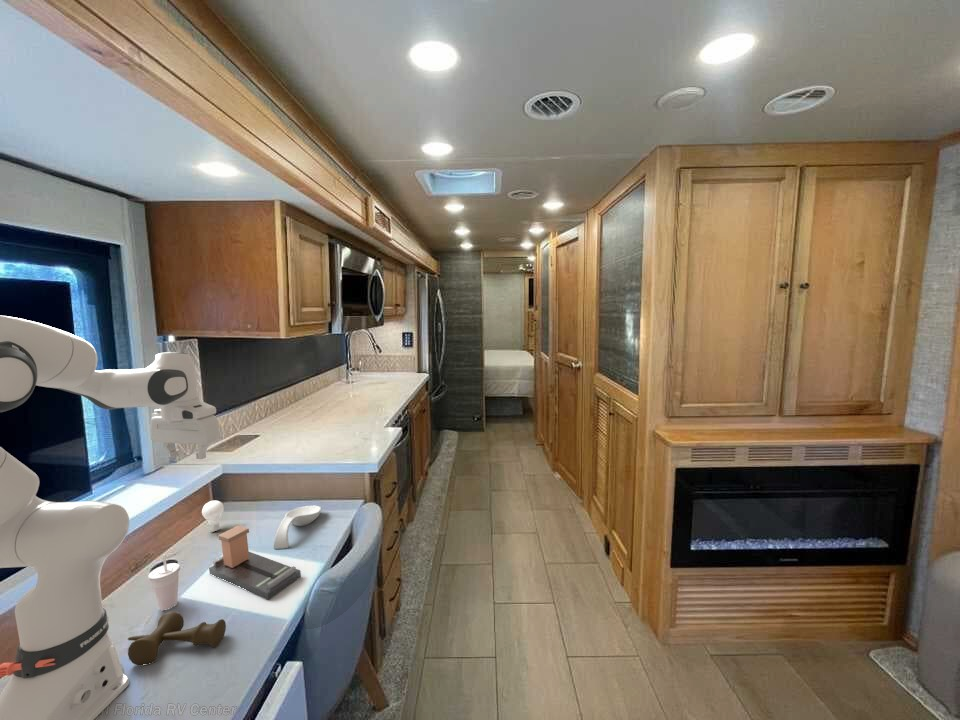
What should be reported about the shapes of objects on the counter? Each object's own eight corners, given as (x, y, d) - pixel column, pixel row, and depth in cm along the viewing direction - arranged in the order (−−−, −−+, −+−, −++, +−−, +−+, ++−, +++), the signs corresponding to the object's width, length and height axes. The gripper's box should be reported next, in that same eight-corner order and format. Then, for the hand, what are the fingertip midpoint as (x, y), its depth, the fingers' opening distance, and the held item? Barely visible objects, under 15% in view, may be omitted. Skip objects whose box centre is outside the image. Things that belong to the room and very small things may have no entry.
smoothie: (166, 616, 98) (159, 563, 96) (145, 613, 99) (138, 561, 97) (190, 598, 104) (184, 548, 102) (170, 595, 105) (164, 546, 104)
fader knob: (221, 565, 114) (218, 535, 113) (241, 553, 119) (238, 525, 118) (231, 569, 112) (228, 538, 111) (251, 557, 117) (248, 528, 116)
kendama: (209, 663, 84) (110, 669, 83) (234, 629, 94) (145, 634, 92) (207, 636, 84) (107, 643, 82) (232, 605, 93) (143, 610, 92)
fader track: (209, 574, 114) (208, 563, 113) (243, 555, 122) (242, 544, 122) (268, 600, 102) (266, 587, 102) (300, 577, 111) (299, 565, 110)
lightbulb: (208, 538, 133) (204, 507, 132) (201, 532, 137) (198, 502, 136) (229, 529, 138) (225, 500, 137) (221, 524, 142) (218, 495, 141)
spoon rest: (295, 514, 148) (293, 496, 148) (326, 512, 149) (325, 494, 148) (263, 551, 125) (261, 529, 124) (300, 548, 125) (298, 527, 125)
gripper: (139, 411, 108) (147, 460, 109) (200, 413, 103) (207, 463, 105) (162, 406, 114) (169, 451, 116) (220, 407, 109) (226, 455, 111)
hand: (187, 457), depth 110 cm, fingers open, 8 cm apart
